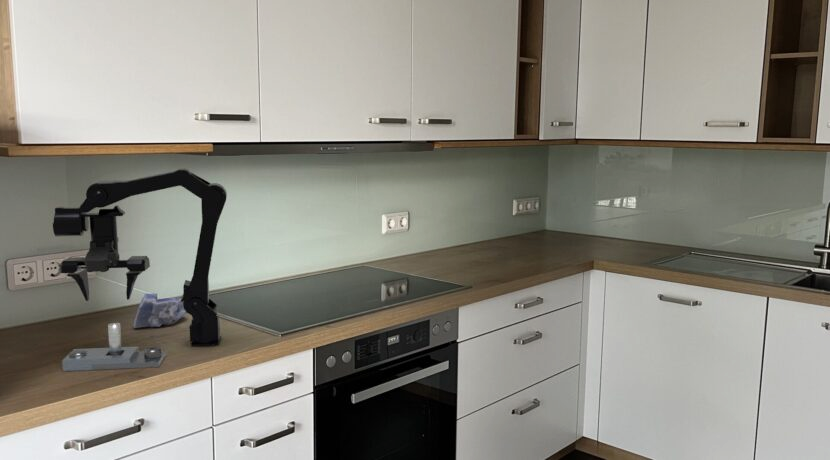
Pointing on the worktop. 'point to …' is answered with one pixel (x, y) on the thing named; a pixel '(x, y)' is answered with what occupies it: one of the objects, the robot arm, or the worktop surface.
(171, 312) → the mineral
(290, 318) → the worktop surface
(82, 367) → the grey bolted bracket plate
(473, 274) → the worktop surface
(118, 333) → the pin
